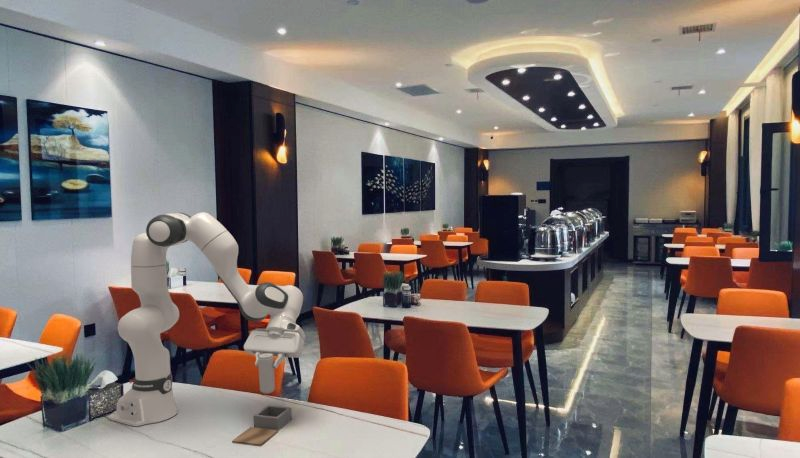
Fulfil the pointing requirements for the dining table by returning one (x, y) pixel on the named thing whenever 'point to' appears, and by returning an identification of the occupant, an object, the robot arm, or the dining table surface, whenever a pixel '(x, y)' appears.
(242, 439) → the coaster
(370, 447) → the dining table surface
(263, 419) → the can holder
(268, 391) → the beverage can
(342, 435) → the dining table surface
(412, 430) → the dining table surface
